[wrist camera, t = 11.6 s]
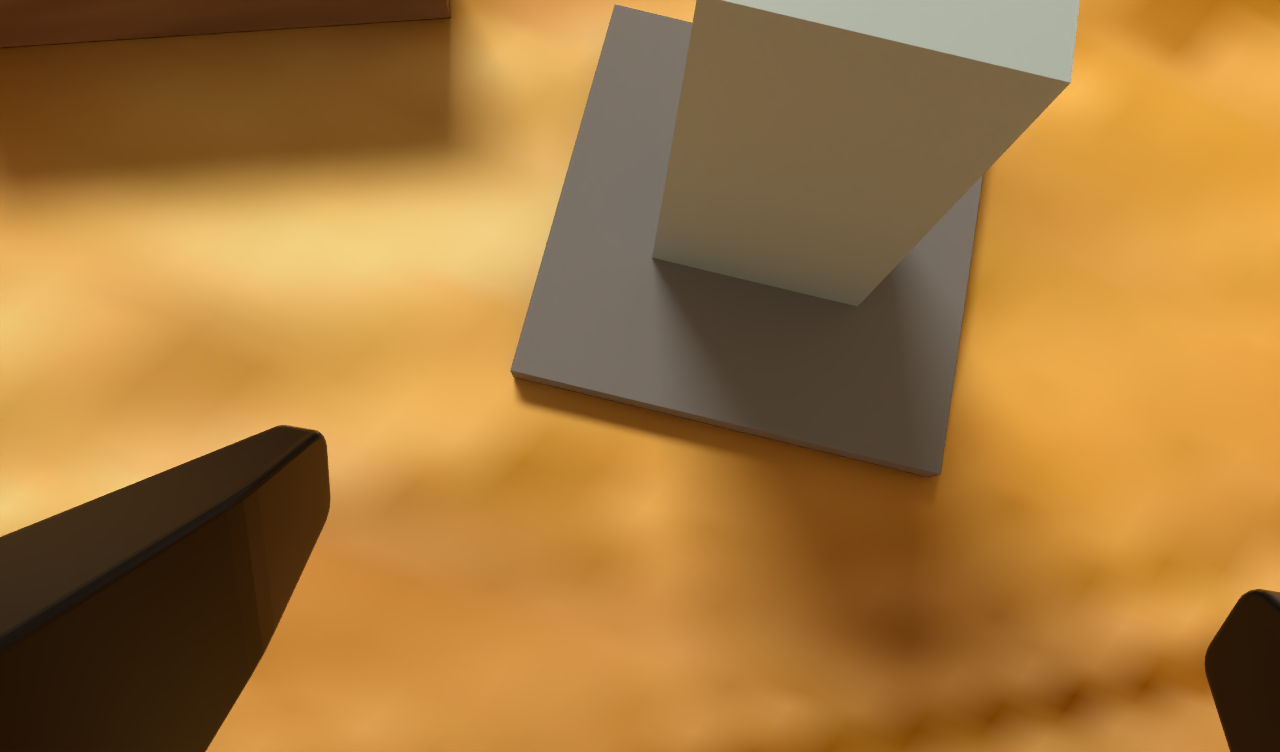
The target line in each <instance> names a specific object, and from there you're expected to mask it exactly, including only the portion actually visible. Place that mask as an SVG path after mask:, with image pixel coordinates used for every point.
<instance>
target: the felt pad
mask: <svg viewBox="0 0 1280 752" xmlns="http://www.w3.org/2000/svg"><path fill="white" fill-rule="evenodd" d="M692 24H693V23H691V22H686V21H682V20H678V19H674V18H670V17H665V16H661V15H657V14H653V13H649V12H644V11H640V10H636V9H632V8H628V7H623V6H619V5H615V6H614V9H613V13H612V16H611V20H610V23H609V27H608V30H607V34H606V37H605V41H604V44H603V48H602V51H601V55H600V58H599V62H598V65H597V69H596V72H595V76H594V79H593V83H592V86H591V90H590V93H589V97H588V100H587V104H586V107H585V111H584V114H583V118H582V121H581V125H580V128H579V132H578V135H577V139H576V142H575V146H574V149H573V153H572V156H571V160H570V163H569V167H568V170H567V174H566V177H565V181H564V185H563V188H562V192H561V195H560V199H559V202H558V206H557V209H556V213H555V216H554V220H553V223H552V227H551V230H550V234H549V237H548V241H547V244H546V248H545V251H544V255H543V258H542V262H541V265H540V269H539V272H538V276H537V279H536V283H535V286H534V290H533V293H532V297H531V300H530V304H529V307H528V311H527V314H526V318H525V321H524V325H523V328H522V332H521V335H520V339H519V342H518V346H517V349H516V353H515V356H514V360H513V363H512V367H511V373H512V375H513V377H517V378H521V379H525V380H529V381H533V382H538V383H542V384H546V385H550V386H554V387H558V388H562V389H567V390H571V391H575V392H579V393H583V394H587V395H591V396H595V397H600V398H604V399H608V400H612V401H616V402H620V403H624V404H629V405H633V406H637V407H641V408H645V409H649V410H653V411H658V412H662V413H666V414H670V415H674V416H678V417H682V418H687V419H691V420H695V421H699V422H703V423H707V424H711V425H716V426H720V427H724V428H728V429H732V430H736V431H740V432H745V433H749V434H753V435H757V436H761V437H765V438H769V439H773V440H778V441H782V442H786V443H790V444H794V445H798V446H802V447H807V448H811V449H815V450H819V451H823V452H827V453H831V454H836V455H840V456H844V457H848V458H852V459H856V460H860V461H865V462H869V463H873V464H877V465H881V466H885V467H889V468H894V469H898V470H902V471H906V472H910V473H914V474H918V475H923V476H927V477H933V476H936V475H939V474H941V467H942V460H943V453H944V446H945V439H946V432H947V425H948V417H949V410H950V403H951V396H952V389H953V382H954V375H955V368H956V361H957V354H958V347H959V340H960V333H961V326H962V319H963V312H964V305H965V298H966V291H967V284H968V277H969V270H970V263H971V256H972V249H973V242H974V235H975V227H976V220H977V213H978V206H979V199H980V192H981V185H982V178H983V175H982V176H981V177H980V178H979V179H978V180H977V182H976V183H975V184H974V185H973V186H972V187H971V188H970V189H969V190H968V191H967V192H966V193H965V194H964V195H963V196H962V197H961V198H960V199H959V200H958V201H957V203H956V204H955V205H954V206H953V207H952V208H951V209H950V210H949V211H948V212H947V213H946V214H945V215H944V216H943V217H942V218H941V219H940V220H939V221H938V223H937V224H936V225H935V226H934V227H933V228H932V229H931V230H930V231H929V232H928V233H927V234H926V235H925V236H924V237H923V238H922V239H921V240H920V241H919V243H918V244H917V245H916V246H915V247H914V248H913V249H912V250H911V251H910V252H909V253H908V254H907V255H906V256H905V257H904V258H903V259H902V260H901V261H900V263H899V264H898V265H897V266H896V267H895V268H894V269H893V270H892V271H891V272H890V273H889V274H888V275H887V276H886V277H885V278H884V279H883V280H882V281H881V282H880V284H879V285H878V286H877V287H876V288H875V289H874V290H873V291H872V292H871V293H870V294H869V295H868V296H867V297H866V298H865V299H864V300H863V301H862V302H861V304H860V305H859V306H858V307H857V306H853V305H849V304H845V303H841V302H836V301H832V300H828V299H824V298H820V297H815V296H811V295H807V294H803V293H799V292H794V291H790V290H786V289H782V288H777V287H773V286H769V285H765V284H761V283H756V282H752V281H748V280H744V279H740V278H735V277H731V276H727V275H723V274H719V273H714V272H710V271H706V270H702V269H698V268H693V267H689V266H685V265H681V264H677V263H672V262H668V261H664V260H660V259H656V258H652V255H653V249H654V243H655V238H656V232H657V226H658V220H659V215H660V209H661V203H662V197H663V192H664V186H665V180H666V174H667V168H668V163H669V157H670V151H671V145H672V140H673V134H674V128H675V122H676V117H677V111H678V105H679V99H680V94H681V88H682V82H683V76H684V71H685V65H686V59H687V53H688V47H689V42H690V36H691V30H692Z"/></svg>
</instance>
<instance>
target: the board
mask: <svg viewBox="0 0 1280 752" xmlns="http://www.w3.org/2000/svg"><path fill="white" fill-rule="evenodd" d="M1079 3H1080V0H697V1H696V7H695V13H694V19H693V24H692V30H691V36H690V42H689V47H688V53H687V59H686V65H685V71H684V76H683V82H682V88H681V94H680V99H679V105H678V111H677V117H676V122H675V128H674V134H673V140H672V145H671V151H670V157H669V163H668V168H667V174H666V180H665V186H664V192H663V197H662V203H661V209H660V215H659V220H658V226H657V232H656V238H655V243H654V249H653V255H652V258H656V259H660V260H664V261H668V262H672V263H677V264H681V265H685V266H689V267H693V268H698V269H702V270H706V271H710V272H714V273H719V274H723V275H727V276H731V277H735V278H740V279H744V280H748V281H752V282H756V283H761V284H765V285H769V286H773V287H777V288H782V289H786V290H790V291H794V292H799V293H803V294H807V295H811V296H815V297H820V298H824V299H828V300H832V301H836V302H841V303H845V304H849V305H853V306H857V307H858V306H859V305H860V304H861V302H862V301H863V300H864V299H865V298H866V297H867V296H868V295H869V294H870V293H871V292H872V291H873V290H874V289H875V288H876V287H877V286H878V285H879V284H880V282H881V281H882V280H883V279H884V278H885V277H886V276H887V275H888V274H889V273H890V272H891V271H892V270H893V269H894V268H895V267H896V266H897V265H898V264H899V263H900V261H901V260H902V259H903V258H904V257H905V256H906V255H907V254H908V253H909V252H910V251H911V250H912V249H913V248H914V247H915V246H916V245H917V244H918V243H919V241H920V240H921V239H922V238H923V237H924V236H925V235H926V234H927V233H928V232H929V231H930V230H931V229H932V228H933V227H934V226H935V225H936V224H937V223H938V221H939V220H940V219H941V218H942V217H943V216H944V215H945V214H946V213H947V212H948V211H949V210H950V209H951V208H952V207H953V206H954V205H955V204H956V203H957V201H958V200H959V199H960V198H961V197H962V196H963V195H964V194H965V193H966V192H967V191H968V190H969V189H970V188H971V187H972V186H973V185H974V184H975V183H976V182H977V180H978V179H979V178H980V177H981V176H982V175H983V174H984V173H985V172H986V171H987V170H988V169H989V168H990V167H991V166H992V165H993V164H994V163H995V162H996V160H997V159H998V158H999V157H1000V156H1001V155H1002V154H1003V153H1004V152H1005V151H1006V150H1007V149H1008V148H1009V147H1010V146H1011V145H1012V144H1013V143H1014V142H1015V140H1016V139H1017V138H1018V137H1019V136H1020V135H1021V134H1022V133H1023V132H1024V131H1025V130H1026V129H1027V128H1028V127H1029V126H1030V125H1031V124H1032V123H1033V122H1034V121H1035V119H1036V118H1037V117H1038V116H1039V115H1040V114H1041V113H1042V112H1043V111H1044V110H1045V109H1046V108H1047V107H1048V106H1049V105H1050V104H1051V103H1052V102H1053V101H1054V99H1055V98H1056V97H1057V96H1058V95H1059V94H1060V93H1061V92H1062V91H1063V90H1064V89H1065V88H1066V87H1067V86H1068V85H1069V84H1070V83H1071V74H1072V65H1073V57H1074V48H1075V39H1076V30H1077V21H1078V12H1079Z"/></svg>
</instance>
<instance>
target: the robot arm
mask: <svg viewBox="0 0 1280 752" xmlns="http://www.w3.org/2000/svg"><path fill="white" fill-rule="evenodd" d="M329 508H330V484H329V470H328V456H327V445H326V441H325V438H324V436H323V435H322V434H321V433H320V432H319V431H317V430H311V429H305V428H300V427H294V426H287V425H279V426H276V427H274V428H271V429H269V430H266V431H264V432H261V433H259V434H256V435H254V436H251V437H249V438H246V439H244V440H241V441H239V442H236V443H234V444H231V445H229V446H226V447H224V448H221V449H219V450H216V451H214V452H211V453H209V454H206V455H204V456H201V457H199V458H196V459H194V460H191V461H189V462H186V463H184V464H181V465H179V466H176V467H174V468H171V469H169V470H166V471H164V472H162V473H159V474H157V475H154V476H152V477H149V478H147V479H144V480H142V481H139V482H137V483H134V484H132V485H129V486H127V487H124V488H122V489H119V490H117V491H114V492H112V493H109V494H107V495H104V496H102V497H99V498H97V499H94V500H92V501H89V502H87V503H84V504H82V505H79V506H77V507H74V508H72V509H69V510H67V511H64V512H62V513H59V514H57V515H54V516H52V517H49V518H47V519H44V520H42V521H39V522H37V523H34V524H32V525H29V526H27V527H24V528H22V529H19V530H17V531H14V532H12V533H9V534H7V535H5V536H2V537H0V752H205V751H206V750H207V748H208V746H209V745H210V743H211V742H212V740H213V738H214V737H215V735H216V733H217V732H218V730H219V728H220V727H221V725H222V723H223V722H224V720H225V718H226V717H227V715H228V713H229V712H230V710H231V709H232V707H233V705H234V704H235V702H236V700H237V699H238V697H239V695H240V694H241V692H242V690H243V689H244V687H245V685H246V684H247V682H248V680H249V679H250V677H251V675H252V674H253V672H254V670H255V668H256V667H257V665H258V663H259V661H260V660H261V658H262V656H263V654H264V653H265V651H266V649H267V646H268V644H269V642H270V640H271V638H272V636H273V634H274V632H275V630H276V628H277V626H278V624H279V622H280V619H281V617H282V615H283V613H284V611H285V609H286V606H287V604H288V602H289V600H290V598H291V596H292V593H293V591H294V589H295V587H296V585H297V583H298V581H299V578H300V576H301V574H302V572H303V570H304V568H305V565H306V563H307V561H308V559H309V557H310V555H311V552H312V550H313V548H314V546H315V544H316V542H317V539H318V537H319V535H320V533H321V531H322V529H323V526H324V524H325V522H326V519H327V516H328V513H329ZM1205 672H1206V677H1207V680H1208V683H1209V686H1210V689H1211V692H1212V696H1213V699H1214V702H1215V705H1216V708H1217V711H1218V714H1219V718H1220V721H1221V724H1222V727H1223V730H1224V733H1225V736H1226V740H1227V743H1228V746H1229V749H1230V752H1280V592H1275V591H1269V590H1263V589H1256V590H1250V591H1248V592H1247V593H1245V594H1244V595H1242V596H1241V598H1240V599H1239V600H1238V601H1237V603H1236V605H1235V606H1234V608H1233V609H1232V611H1231V612H1230V614H1229V615H1228V617H1227V618H1226V620H1225V622H1224V623H1223V625H1222V626H1221V628H1220V629H1219V631H1218V632H1217V634H1216V635H1215V637H1214V639H1213V640H1212V642H1211V643H1210V645H1209V647H1208V649H1207V652H1206V655H1205Z"/></svg>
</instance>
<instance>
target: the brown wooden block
mask: <svg viewBox="0 0 1280 752" xmlns="http://www.w3.org/2000/svg"><path fill="white" fill-rule="evenodd" d="M435 18H450V5H449V0H0V47H14V46H29V45H44V44H59V43H74V42H89V41H104V40H119V39H134V38H149V37H164V36H179V35H194V34H210V33H225V32H240V31H255V30H270V29H285V28H300V27H315V26H330V25H345V24H360V23H375V22H390V21H405V20H420V19H435Z"/></svg>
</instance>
